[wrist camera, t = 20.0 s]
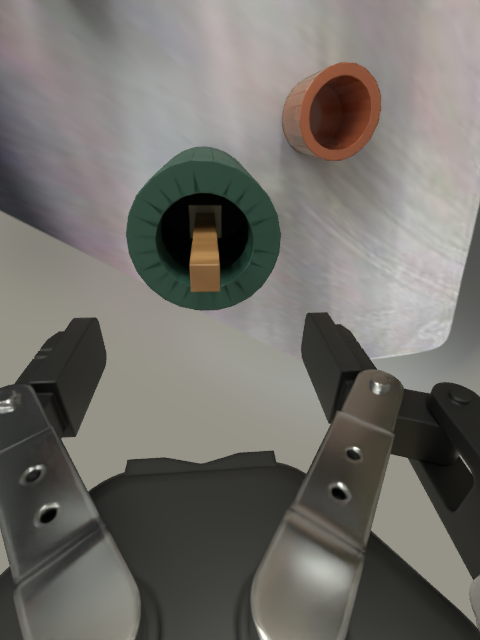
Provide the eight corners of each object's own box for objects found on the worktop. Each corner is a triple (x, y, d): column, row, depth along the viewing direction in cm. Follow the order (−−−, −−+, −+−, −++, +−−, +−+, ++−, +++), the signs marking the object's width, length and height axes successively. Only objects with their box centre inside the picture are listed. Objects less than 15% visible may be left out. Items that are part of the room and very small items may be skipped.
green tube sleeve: (151, 145, 32) (113, 158, 19) (255, 147, 32) (287, 161, 20) (161, 248, 37) (138, 312, 24) (251, 247, 38) (274, 309, 25)
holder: (285, 73, 30) (305, 60, 24) (354, 76, 30) (390, 64, 24) (279, 154, 33) (295, 160, 27) (341, 155, 34) (370, 161, 28)
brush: (191, 189, 33) (176, 254, 16) (218, 189, 34) (231, 253, 17) (193, 216, 35) (180, 302, 18) (218, 216, 35) (230, 301, 18)
